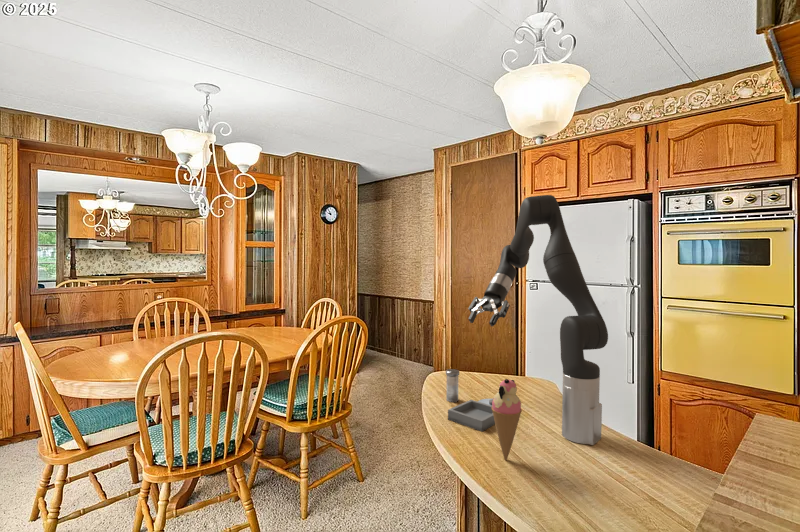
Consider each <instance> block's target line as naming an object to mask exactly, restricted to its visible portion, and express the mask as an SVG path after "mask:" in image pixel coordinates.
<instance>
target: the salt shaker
mask: <svg viewBox="0 0 800 532" xmlns="http://www.w3.org/2000/svg"><path fill="white" fill-rule="evenodd" d="M445 375H446V394H445V395H446V397H445V398H446V401H447V402H448V401H449V402H448V403H457V401H458V402H459V375H460V370H459V369H457V368H456V369H454V368H449V369H445Z"/></svg>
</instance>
